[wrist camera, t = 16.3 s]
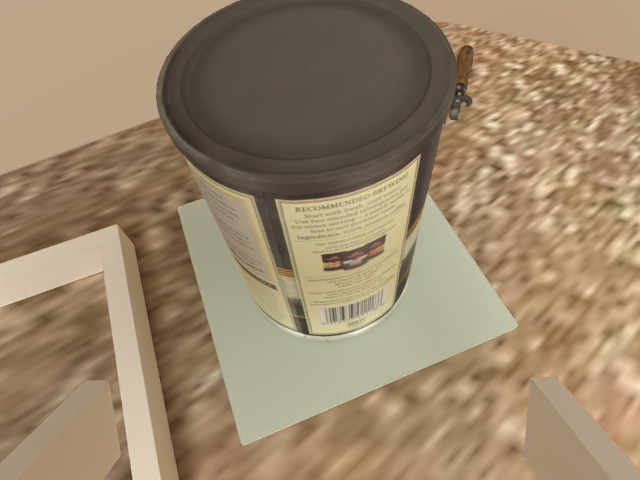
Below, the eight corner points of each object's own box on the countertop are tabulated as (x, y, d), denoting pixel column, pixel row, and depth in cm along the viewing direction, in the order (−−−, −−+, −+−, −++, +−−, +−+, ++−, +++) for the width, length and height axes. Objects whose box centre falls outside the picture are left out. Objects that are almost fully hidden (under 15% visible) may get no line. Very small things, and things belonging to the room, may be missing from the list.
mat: (244, 446, 22) (241, 444, 22) (180, 212, 30) (177, 207, 30) (514, 329, 25) (518, 325, 24) (387, 140, 33) (388, 134, 32)
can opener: (460, 55, 38) (462, 42, 37) (487, 59, 37) (490, 47, 36) (432, 125, 34) (434, 114, 33) (462, 132, 33) (465, 120, 32)
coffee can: (326, 170, 31) (309, -46, 19) (445, 259, 26) (522, 52, 14) (209, 263, 27) (98, 72, 15) (324, 382, 23) (293, 245, 11)
